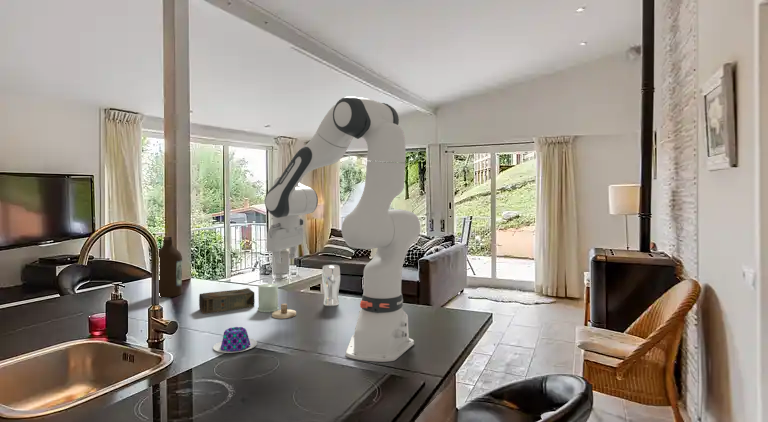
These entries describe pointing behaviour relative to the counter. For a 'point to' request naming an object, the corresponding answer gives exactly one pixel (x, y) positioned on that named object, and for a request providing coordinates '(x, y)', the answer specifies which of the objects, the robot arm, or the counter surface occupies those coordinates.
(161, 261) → the olive oil
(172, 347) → the counter surface
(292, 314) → the lid
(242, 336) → the purple patterned hat
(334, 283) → the beer glass
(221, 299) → the beverage carton
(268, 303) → the canister
